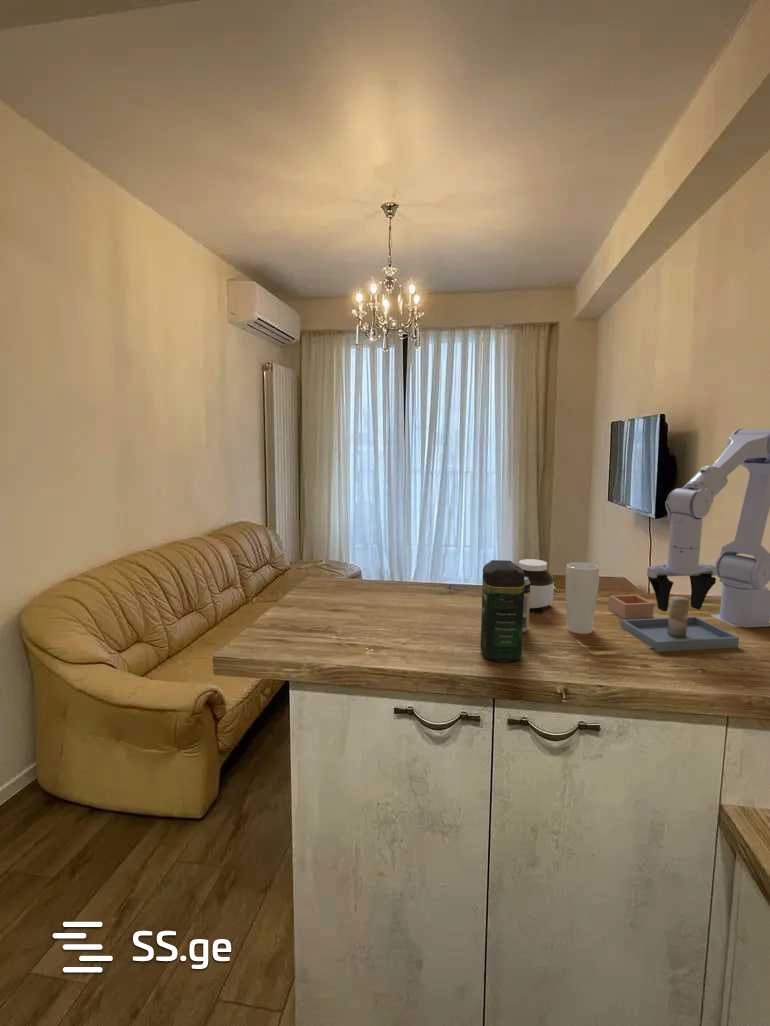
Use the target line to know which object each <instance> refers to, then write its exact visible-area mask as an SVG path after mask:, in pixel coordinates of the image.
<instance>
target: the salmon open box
mask: <svg viewBox="0 0 770 1026" xmlns="http://www.w3.org/2000/svg"><path fill="white" fill-rule="evenodd" d="M654 604H655V603H654V602H652V601H650V600H648V599H646V598H644V597H642V596H640V595H638V594H619V595H618V594H616V595H614V594H612V595H608V607H607V610H608V611H610V612H611V613H613V614H615V615H616V616H619V617H620V618H621V619H622V620H631V619H651V618H653V617H654V606H655V605H654Z"/></svg>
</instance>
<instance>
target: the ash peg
mask: <svg viewBox="0 0 770 1026" xmlns="http://www.w3.org/2000/svg"><path fill="white" fill-rule="evenodd" d="M689 606H690V600H689V598H687V597H685V596H684V597H683V596H676V595H675V596H669V608H668V609H669V611H668V612H669V613H668V618H669V621H668V635H669V636H672V637H676V638H685V637H686V631H687V619H688V617H689Z"/></svg>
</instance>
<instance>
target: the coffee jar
mask: <svg viewBox="0 0 770 1026" xmlns="http://www.w3.org/2000/svg"><path fill="white" fill-rule="evenodd" d="M524 587H525V577H524V572H523V570H522V569H521V568H520V567H519V565H517V564H516V563H514V562H513V561H511V560H502V559H501V560H500V559H498V560H497V559H496V560H495V559H492V560H490V561H489V562H487V563H486V564H485V565H484V566H483V569H482V589H481V590H482V596H481V620H480V622H481V623H480V650H481V653H482V654H483V656H484V657H485V659H487V660H493V661H496V662H499V663H500V662H501V663H509V662H512V661H518V660H520V659H522V658H521V657H522V654H523V653H522V650H523V633H522V630H523V609H524Z"/></svg>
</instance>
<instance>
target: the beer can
mask: <svg viewBox="0 0 770 1026" xmlns="http://www.w3.org/2000/svg"><path fill="white" fill-rule="evenodd" d="M524 577H525V587H524V609H523V630H522V634H523V633H526V632H527V631H529V629H530V627H529V625H530V612H529V607H530V581H529V579H528V577H526V576H524Z"/></svg>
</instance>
